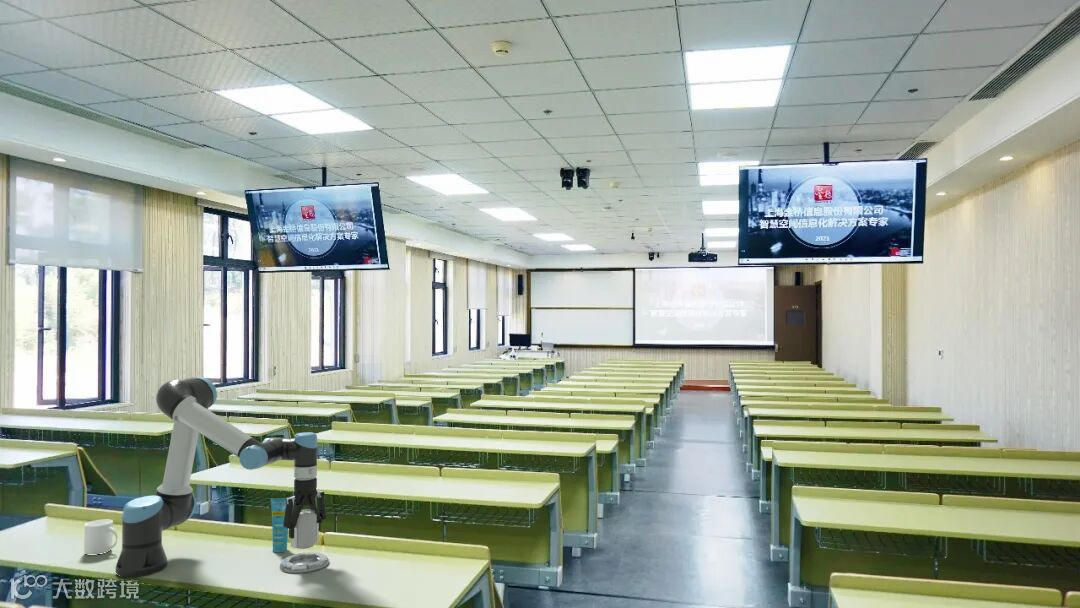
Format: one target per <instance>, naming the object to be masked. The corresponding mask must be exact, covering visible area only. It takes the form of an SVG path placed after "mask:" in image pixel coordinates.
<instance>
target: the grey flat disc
mask: <svg viewBox="0 0 1080 608" xmlns="http://www.w3.org/2000/svg"><path fill="white" fill-rule="evenodd" d="M329 563H330V560H329V558H328V556H327V555H326V554H324V553H322V552H317V551H314V552H313V551H312V552H310V551H309V552H299V553H295V554H292V555H288V556H287V557H285V558H284V559H283V561H281V562H280V564H279V570H280V571H281V572H283V573H287V574H295V575H296V574H306V573H307V574H309V573H313V572H316V571H320V570H322V569H324V568H326V567H327V566H329Z"/></svg>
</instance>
